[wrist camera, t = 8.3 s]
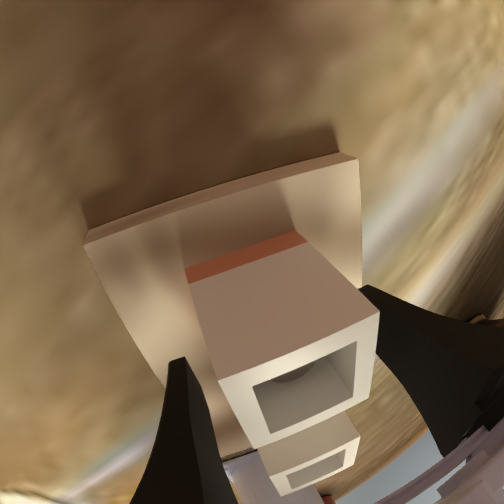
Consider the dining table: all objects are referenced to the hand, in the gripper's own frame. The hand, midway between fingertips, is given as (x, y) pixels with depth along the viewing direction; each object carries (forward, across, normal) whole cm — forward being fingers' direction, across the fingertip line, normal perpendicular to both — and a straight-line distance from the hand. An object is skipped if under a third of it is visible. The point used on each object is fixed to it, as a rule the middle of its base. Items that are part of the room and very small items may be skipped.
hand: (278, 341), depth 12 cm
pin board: (+5, 0, +5) cm, 7 cm away
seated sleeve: (+3, 0, +9) cm, 9 cm away
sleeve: (+3, 0, 0) cm, 3 cm away
